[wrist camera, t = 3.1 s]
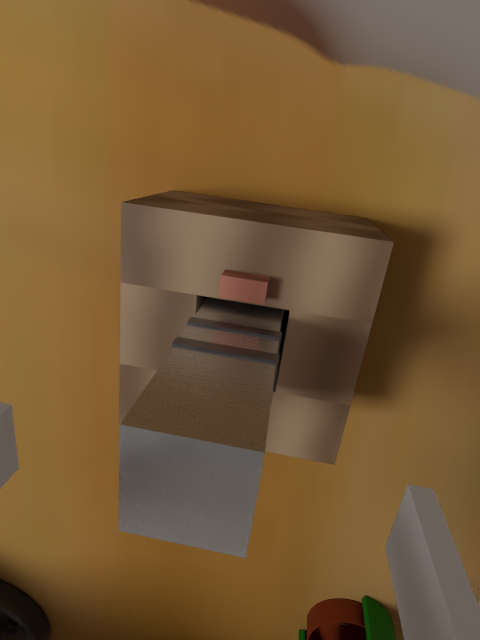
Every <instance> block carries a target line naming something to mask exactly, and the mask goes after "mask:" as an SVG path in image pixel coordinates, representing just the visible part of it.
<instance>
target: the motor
mask: <svg viewBox="0 0 480 640" xmlns="http://www.w3.org/2000/svg"><path fill="white" fill-rule="evenodd" d="M342 623H344V624H346V625H345V626H342V625H341V624H342ZM299 640H396V638H395V632H394V627H393V622H392V619H391V617H390V615H389V613H388V612H387V611H386V609H385V608H384V607H383V606H382V605H380V604H379V603H378V602H376V601H375V600H373V599H371V598H369V597H367V596H365V597H364V598H363V599H362V604H361V603H359V602H356V601H353V600H348V599H329V600H325V601H322V602H320V603H318V604H316V605H315V606H314V607H312V608H311V610H310V611H309V613H308V616H307V632H306V631H305V630H299Z"/></svg>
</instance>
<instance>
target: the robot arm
mask: <svg viewBox="0 0 480 640" xmlns="http://www.w3.org/2000/svg"><path fill="white" fill-rule="evenodd" d="M18 469H19V465H18V456H17V447H16V438H15V430H14V421H13V412H12V405H10V404H5V403H0V488H1V487H2V486H3V485H4V484H5V483H6V482H7V481H8V479H9V478H10V477H11V476H12V475H13V474H14V473H15V472H16V471H17V470H18ZM385 549H386V554H387V559H388V564H389V568H390V573H391V578H392V583H393V588H394V593H395V598H396V602H397V607H398V612H399V617H400V622H401V627H402V632H403V637H404V640H480V608H479V605H478V603H477V600H476V597H475V595H474V592H473V590H472V587H471V585H470V582H469V579H468V577H467V574H466V572H465V569H464V566H463V564H462V561H461V559H460V556H459V554H458V551H457V548H456V546H455V543H454V541H453V538H452V535H451V533H450V530H449V528H448V525H447V523H446V520H445V517H444V515H443V512H442V510H441V507H440V504H439V502H438V499H437V497H436V494H435V492H434V489H430V488H425V487H420V486H415V485H410V484H408V486H407V489H406V491H405V494H404V497H403V500H402V502H401V505H400V508H399V510H398V513H397V516H396V519H395V521H394V524H393V527H392V529H391V532H390V535H389V537H388V540H387V543H386V546H385ZM49 638H50V628H49V624H48V621H47V619H46V617H45V615H44V614H43V612H42V611H41V610H40V608H39V607H38V606H37V605H36V604H35V603H34V602H33V601H32V600H31V599H30V598H28V597H27V596H26V595H25V594H23V593H22V592H20V591H19V590H17V589H15V588H14V587H12V586H10V585H8V584H6V583H3V582H1V581H0V640H49Z"/></svg>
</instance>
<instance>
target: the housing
mask: <svg viewBox="0 0 480 640" xmlns="http://www.w3.org/2000/svg"><path fill="white" fill-rule="evenodd" d="M393 244H394V242H393V241H392V240H391V239H390V238H389V237H388V236H387V235H385V234H384V233H383V232H382V231H381V230H380V229H379V228H377V227H376V226H375V225H374V224H373V223H372V222H371V221H369V220H368V219H367V218H361V217H354V216H347V215H340V214H333V213H326V212H319V211H312V210H305V209H298V208H291V207H284V206H277V205H270V204H263V203H256V202H249V201H242V200H235V199H228V198H221V197H214V196H207V195H200V194H193V193H186V192H179V191H168V192H164V193H159V194H155V195H151V196H146V197H142V198H138V199H133V200H129V201H125V202H122V222H121V307H120V392H119V423H121V422H122V421H123V419H124V418H125V416H126V415H127V414H128V412H129V411H130V409H131V408H132V406H133V405H134V403H135V402H136V400H137V399H138V398H139V396H140V395H141V393H142V392H143V390H144V389H145V387H146V386H147V384H148V383H149V381H150V380H151V379H152V377H153V376H154V374H155V373H156V371H157V370H158V368H159V367H160V365H161V364H162V363H163V361H164V360H165V358H166V357H167V355H168V354H169V352H170V351H171V349H172V342H173V341H174V340H175V338H176V337H180V336H181V335H182V333H183V332H184V331H185V329H186V328H187V321H188V320H189V318H190V317H194V316H195V315H196V313H197V312H198V310H199V309H200V307H201V306H202V304H203V303H204V301H205V300H206V298H207V297H212V298H218V299H224V300H230V301H236V302H242V303H249V304H255V305H261V306H267V307H273V308H279V309H285V310H286V313H285V319H284V324H283V330H282V337H281V343H280V348H279V354H280V355H279V363H278V368H277V374H276V380H275V385H274V391H273V396H272V402H271V408H270V416H269V424H268V432H267V440H266V448H265V451H267V452H272V453H277V454H282V455H287V456H292V457H297V458H303V459H308V460H313V461H318V462H323V463H328V464H334V465H335V461H336V457H337V453H338V450H339V446H340V442H341V439H342V435H343V431H344V427H345V424H346V420H347V416H348V412H349V409H350V405H351V401H352V397H353V394H354V390H355V386H356V383H357V379H358V375H359V371H360V368H361V364H362V360H363V356H364V353H365V349H366V345H367V341H368V338H369V334H370V330H371V326H372V323H373V319H374V315H375V312H376V308H377V304H378V300H379V297H380V293H381V289H382V285H383V282H384V278H385V274H386V270H387V267H388V263H389V259H390V256H391V252H392V248H393Z"/></svg>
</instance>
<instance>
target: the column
mask: <svg viewBox="0 0 480 640" xmlns="http://www.w3.org/2000/svg"><path fill="white" fill-rule="evenodd" d="M283 313H284V309H279V308H273V307H267V306H261V305H255V304H249V303H242V302H236V301H230V300H224V299H218V298H212V297H207V298H206V300H205V301H204V303H203V304H202V306H201V307H200V309H199V310H198V312H197V313H196V315H195V316H194V317H190V318H189V320H188V321H187V328H186V329H185V331H184V332H183V333H182V335H181V336H180V337H176V338H175V340H174V341H173V342H172V349H171V351H170V352H169V354H168V355H167V357H166V358H165V360H164V361H163V363H162V364H161V365H160V367H159V368H158V370H157V371H156V373H155V374H154V376H153V377H152V379H151V380H150V381H149V383H148V384H147V386H146V387H145V389H144V390H143V392H142V393H141V395H140V396H139V398H138V399H137V400H136V402H135V403H134V405H133V406H132V408H131V409H130V411H129V412H128V414H127V415H126V416H125V418H124V419H123V421H122V422H121V424H120V462H119V531H123V532H128V533H133V534H137V535H142V536H147V537H151V538H156V539H160V540H165V541H170V542H174V543H179V544H183V545H188V546H193V547H197V548H202V549H206V550H211V551H216V552H220V553H225V554H230V555H234V556H239V557H243V558H246V553H247V548H248V543H249V537H250V532H251V526H252V521H253V515H254V510H255V504H256V499H257V493H258V488H259V482H260V477H261V471H262V466H263V460H264V455H265V448H266V440H267V432H268V424H269V416H270V408H271V402H272V396H273V391H274V385H275V380H276V374H277V368H278V363H279V355H280V354H279V348H280V343H281V337H282V332H280V330H281V325H282V319H283Z"/></svg>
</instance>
